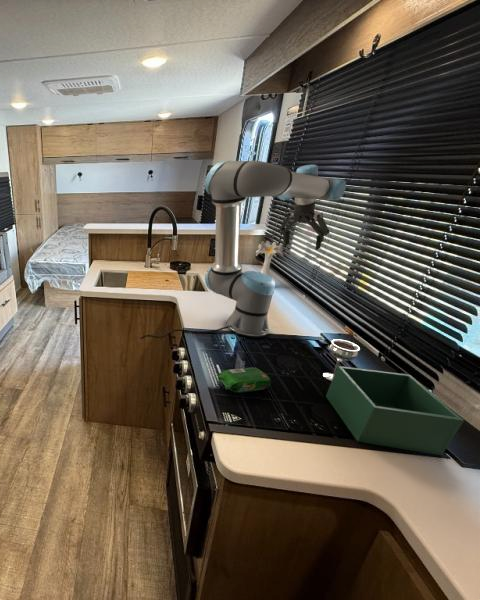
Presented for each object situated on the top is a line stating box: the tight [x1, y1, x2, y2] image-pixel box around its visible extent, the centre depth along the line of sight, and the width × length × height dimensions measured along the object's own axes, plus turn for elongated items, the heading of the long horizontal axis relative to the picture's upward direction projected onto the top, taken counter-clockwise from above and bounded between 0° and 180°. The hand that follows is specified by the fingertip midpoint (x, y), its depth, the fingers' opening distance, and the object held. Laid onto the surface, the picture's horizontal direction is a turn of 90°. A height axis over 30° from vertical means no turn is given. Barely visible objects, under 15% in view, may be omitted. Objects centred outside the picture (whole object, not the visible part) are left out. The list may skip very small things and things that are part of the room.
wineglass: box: [322, 338, 361, 382], centre depth 95 cm, size 7×7×12 cm
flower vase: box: [255, 240, 284, 279], centre depth 169 cm, size 13×18×25 cm
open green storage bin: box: [325, 365, 465, 456], centre depth 78 cm, size 17×17×11 cm
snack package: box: [217, 366, 272, 393], centre depth 92 cm, size 7×16×5 cm, turn 99°
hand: (301, 246), depth 146 cm, fingers open, 13 cm apart
